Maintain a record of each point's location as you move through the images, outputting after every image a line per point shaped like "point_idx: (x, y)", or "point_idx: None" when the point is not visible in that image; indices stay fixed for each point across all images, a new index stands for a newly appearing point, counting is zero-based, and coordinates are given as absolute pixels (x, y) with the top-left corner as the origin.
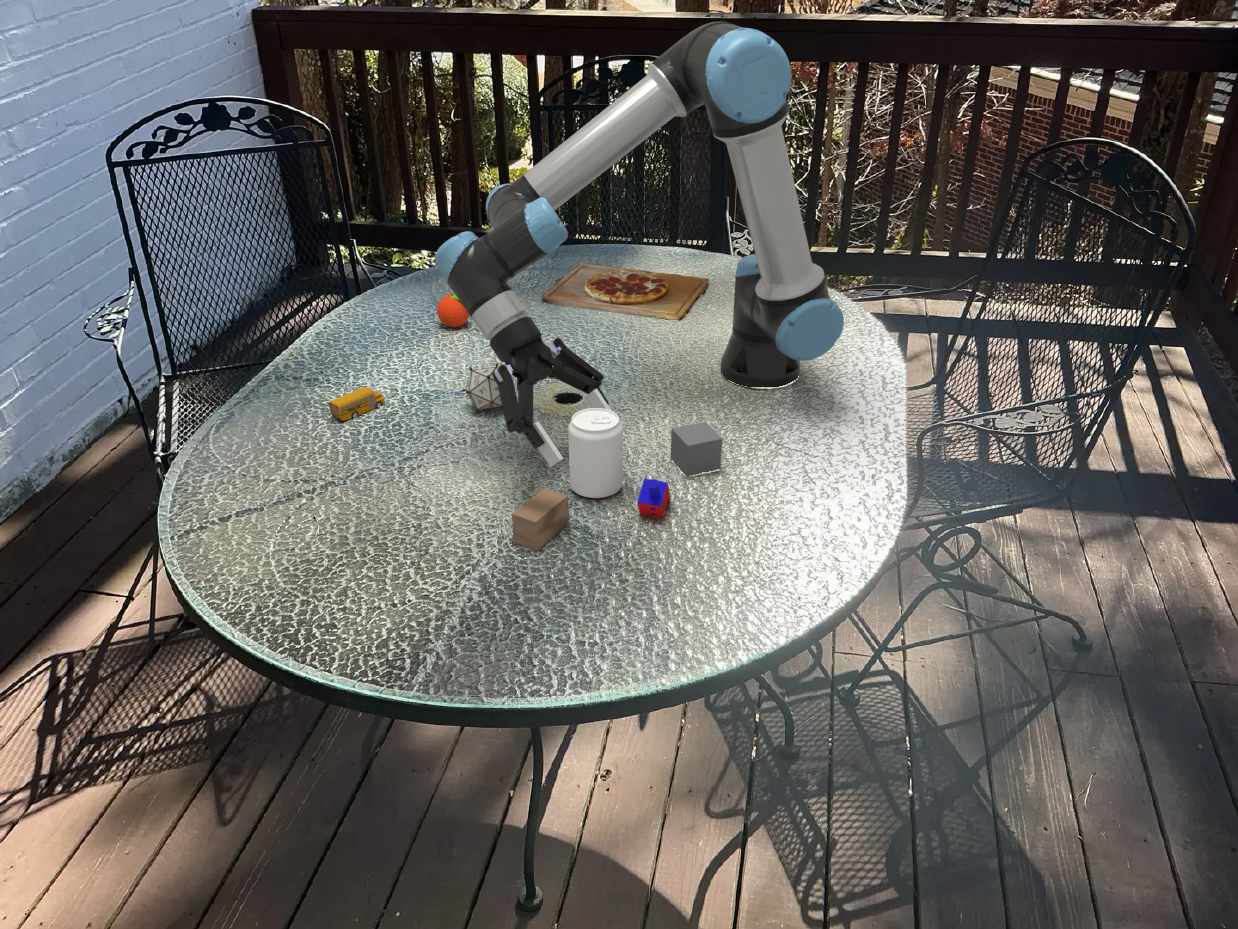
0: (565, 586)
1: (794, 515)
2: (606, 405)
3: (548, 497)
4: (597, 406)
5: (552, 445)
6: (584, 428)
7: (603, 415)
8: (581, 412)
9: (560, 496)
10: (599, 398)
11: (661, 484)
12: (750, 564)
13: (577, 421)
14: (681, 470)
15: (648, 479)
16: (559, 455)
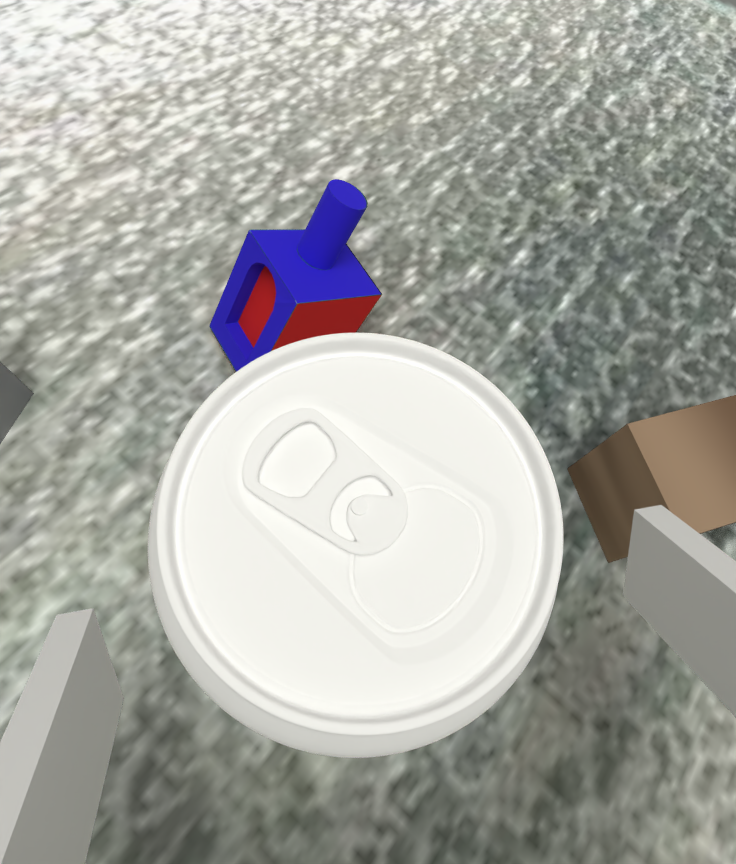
0: (723, 263)
1: (15, 71)
2: (13, 756)
3: (703, 468)
4: (53, 846)
5: (718, 565)
6: (510, 474)
7: (250, 535)
8: (360, 717)
9: (657, 439)
10: (7, 844)
11: (271, 245)
12: (293, 46)
13: (486, 606)
14: (1, 428)
15: (289, 288)
16: (662, 521)
